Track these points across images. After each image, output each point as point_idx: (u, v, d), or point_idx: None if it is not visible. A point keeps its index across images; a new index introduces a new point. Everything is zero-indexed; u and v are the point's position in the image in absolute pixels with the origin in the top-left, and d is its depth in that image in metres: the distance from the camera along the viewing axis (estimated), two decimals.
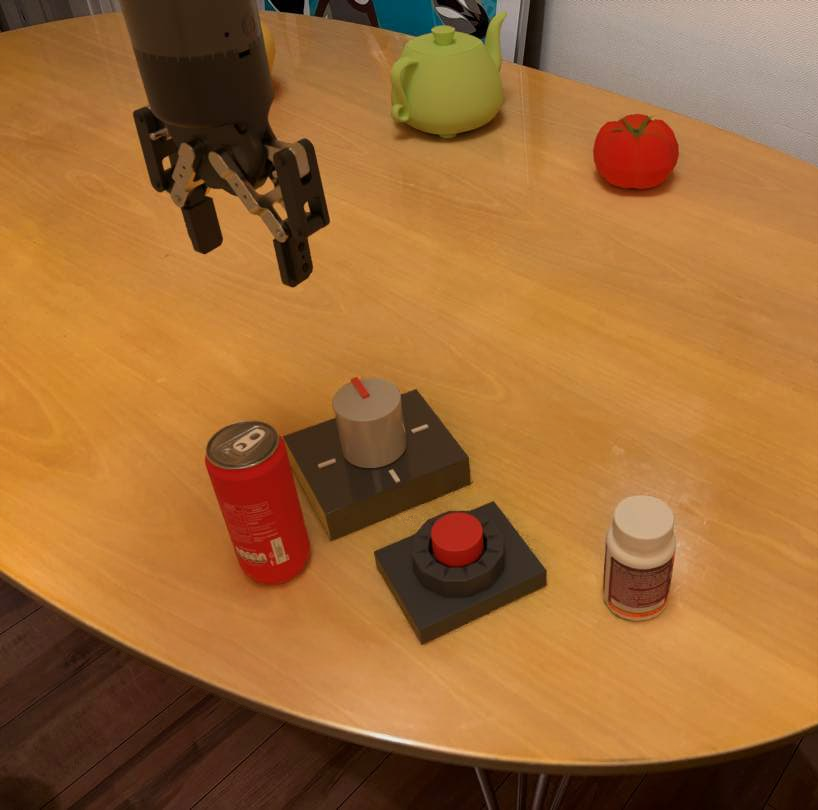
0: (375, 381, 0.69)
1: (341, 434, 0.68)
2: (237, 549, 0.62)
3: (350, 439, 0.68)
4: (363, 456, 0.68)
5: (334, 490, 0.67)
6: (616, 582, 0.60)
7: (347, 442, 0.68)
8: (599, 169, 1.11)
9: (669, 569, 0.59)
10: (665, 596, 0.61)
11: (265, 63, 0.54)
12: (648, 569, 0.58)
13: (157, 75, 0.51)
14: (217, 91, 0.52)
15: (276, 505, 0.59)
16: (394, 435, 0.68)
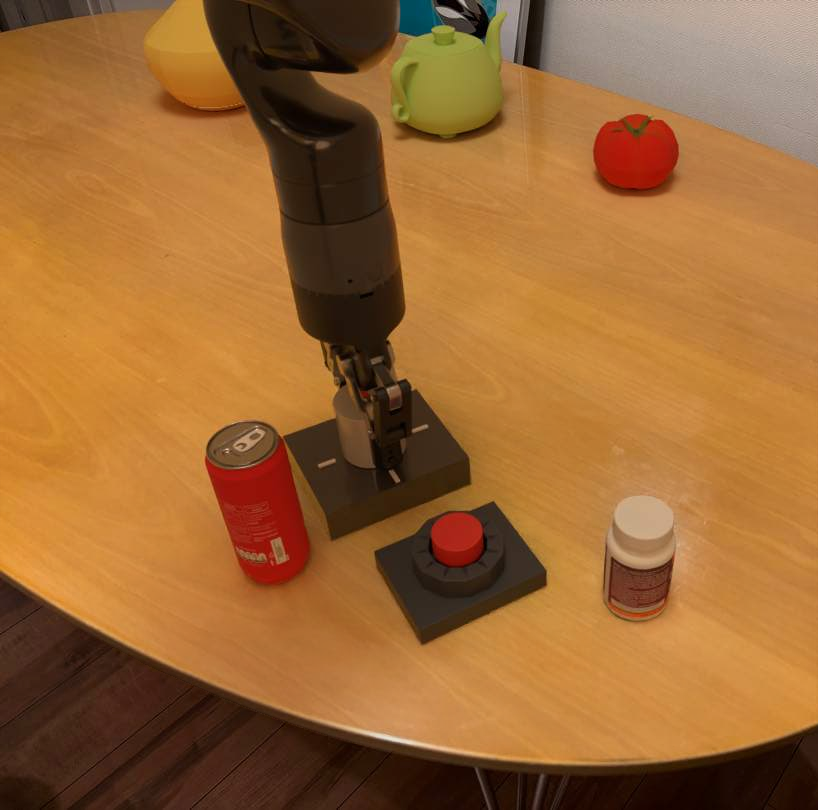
0: None
1: (341, 434, 0.68)
2: (237, 549, 0.62)
3: (350, 439, 0.68)
4: (363, 456, 0.68)
5: (334, 490, 0.67)
6: (616, 582, 0.60)
7: (347, 442, 0.68)
8: (599, 169, 1.11)
9: (669, 569, 0.59)
10: (665, 596, 0.61)
11: (392, 299, 0.60)
12: (648, 569, 0.58)
13: (296, 296, 0.59)
14: (336, 320, 0.59)
15: (276, 505, 0.59)
16: None
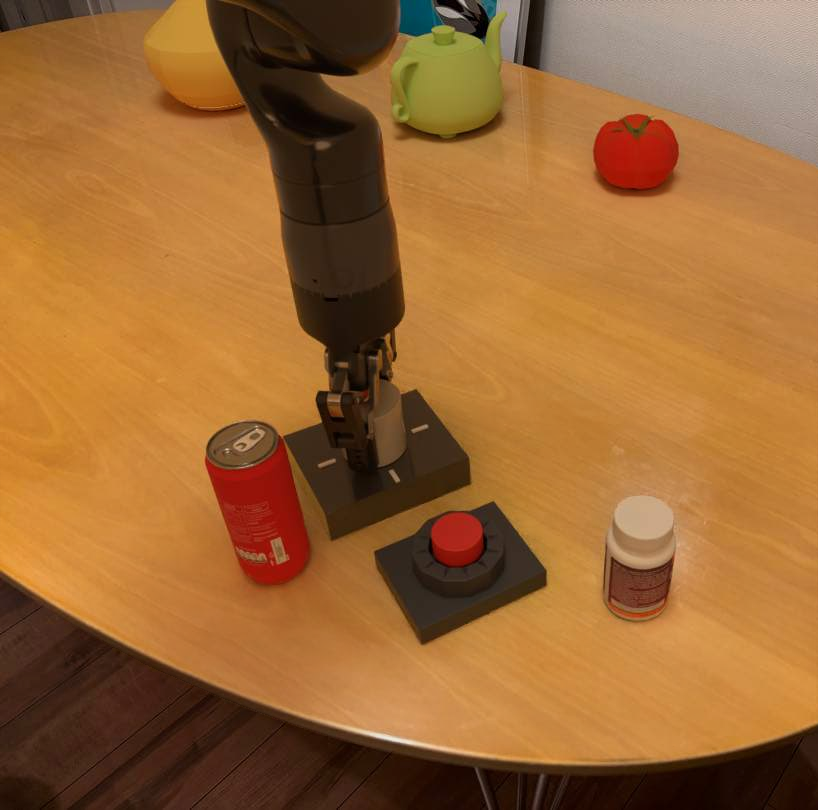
0: (388, 386, 0.69)
1: None
2: (237, 549, 0.62)
3: None
4: (345, 449, 0.69)
5: (334, 490, 0.67)
6: (616, 582, 0.60)
7: None
8: (599, 169, 1.11)
9: (669, 569, 0.59)
10: (665, 596, 0.61)
11: (363, 312, 0.59)
12: (648, 569, 0.58)
13: None
14: (306, 314, 0.59)
15: (276, 505, 0.59)
16: None
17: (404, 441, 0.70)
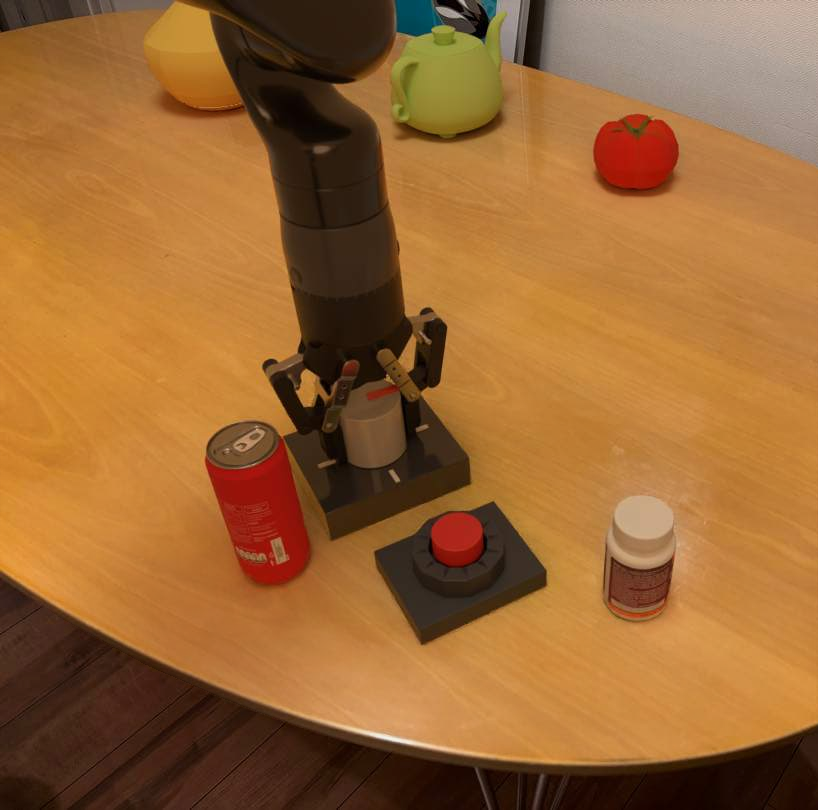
0: (392, 402, 0.68)
1: None
2: (237, 549, 0.62)
3: None
4: None
5: (334, 490, 0.67)
6: (616, 582, 0.60)
7: None
8: (599, 169, 1.11)
9: (669, 569, 0.59)
10: (665, 596, 0.61)
11: (312, 314, 0.59)
12: (648, 569, 0.58)
13: None
14: None
15: (276, 505, 0.59)
16: (344, 439, 0.68)
17: (382, 458, 0.69)
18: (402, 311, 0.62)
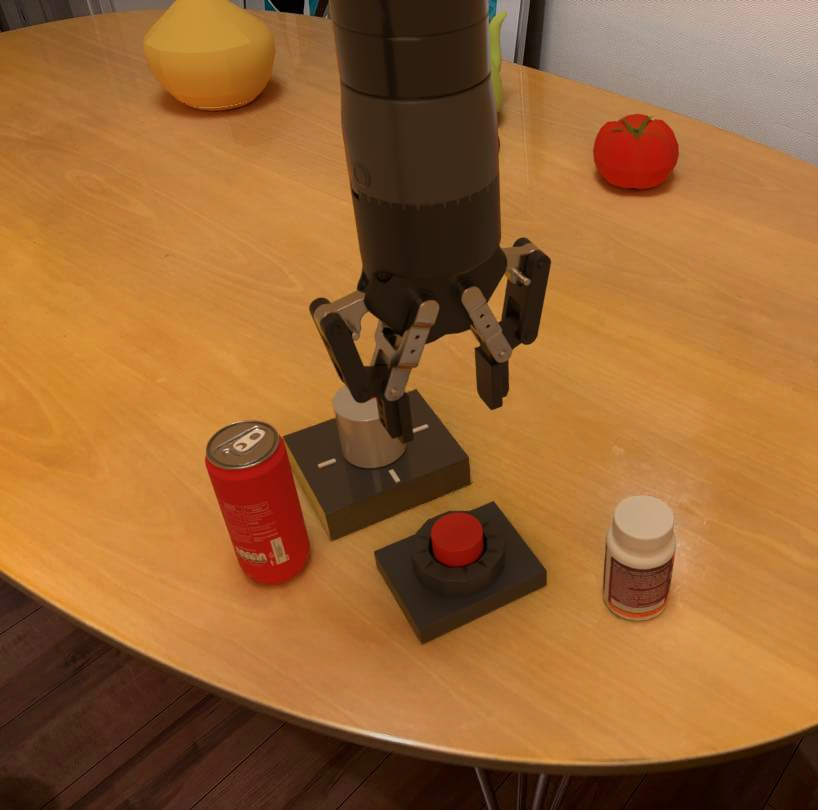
0: None
1: None
2: (237, 549, 0.62)
3: None
4: None
5: (334, 490, 0.67)
6: (616, 582, 0.60)
7: None
8: (599, 169, 1.11)
9: (669, 569, 0.59)
10: (665, 596, 0.61)
11: (383, 230, 0.43)
12: (648, 569, 0.58)
13: None
14: None
15: (276, 505, 0.59)
16: (344, 439, 0.68)
17: (382, 458, 0.69)
18: (499, 234, 0.46)
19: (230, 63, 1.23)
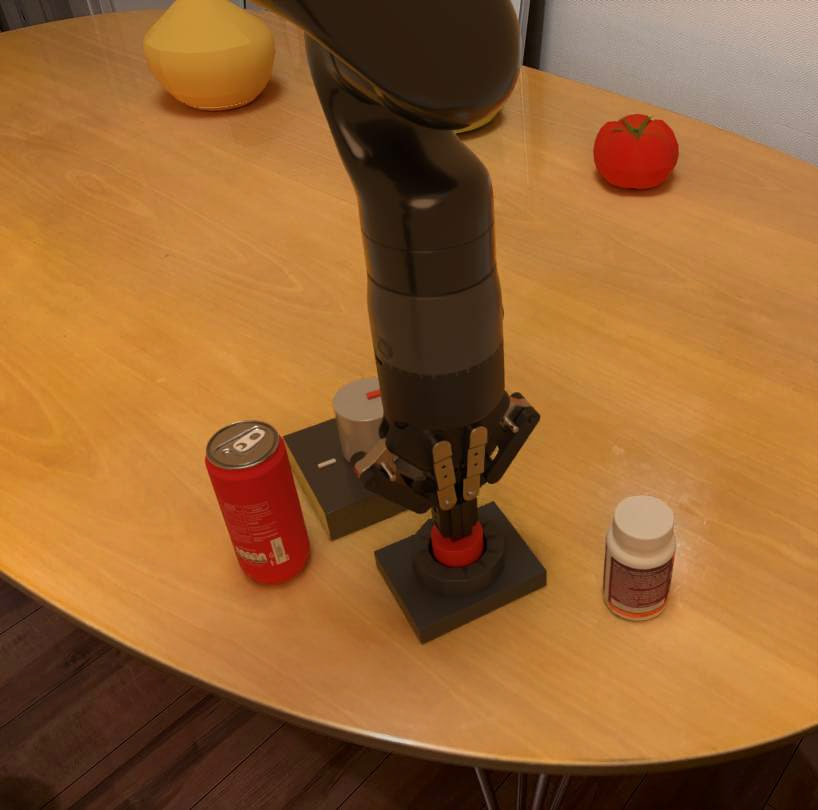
0: None
1: None
2: (237, 549, 0.62)
3: None
4: None
5: (334, 490, 0.67)
6: (616, 582, 0.60)
7: None
8: (599, 169, 1.11)
9: (669, 569, 0.59)
10: (665, 596, 0.61)
11: (402, 392, 0.49)
12: (648, 569, 0.58)
13: None
14: None
15: (276, 505, 0.59)
16: (344, 439, 0.68)
17: None
18: (503, 385, 0.53)
19: (230, 63, 1.23)
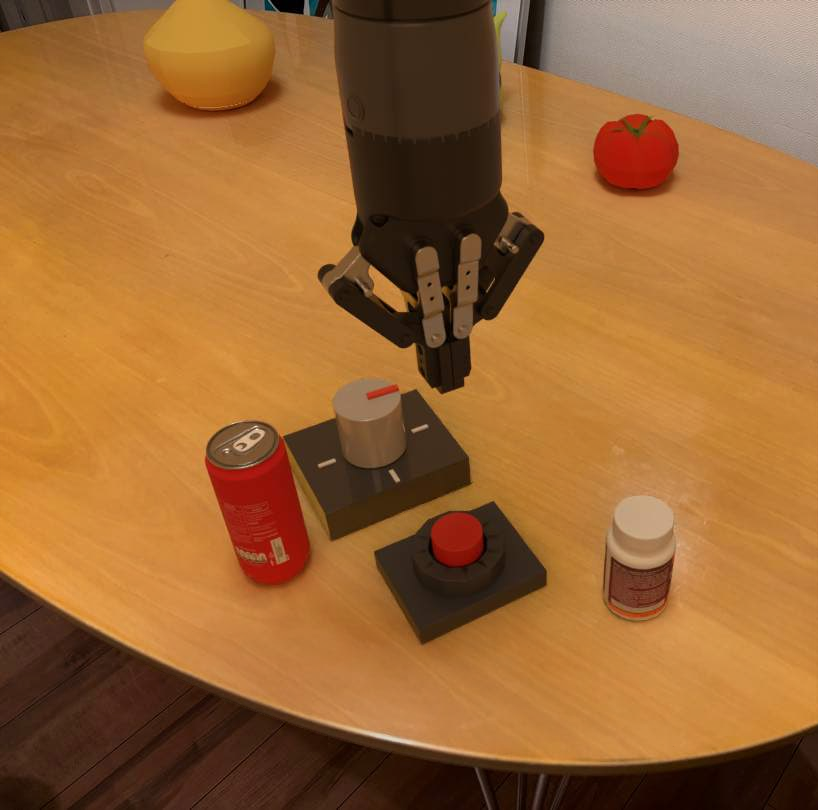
0: (392, 402, 0.68)
1: None
2: (237, 549, 0.62)
3: None
4: None
5: (334, 490, 0.67)
6: (616, 582, 0.60)
7: None
8: (599, 169, 1.11)
9: (669, 569, 0.59)
10: (665, 596, 0.61)
11: (377, 168, 0.41)
12: (648, 569, 0.58)
13: None
14: None
15: (276, 505, 0.59)
16: (344, 439, 0.68)
17: (382, 458, 0.69)
18: (500, 176, 0.44)
19: (230, 63, 1.23)
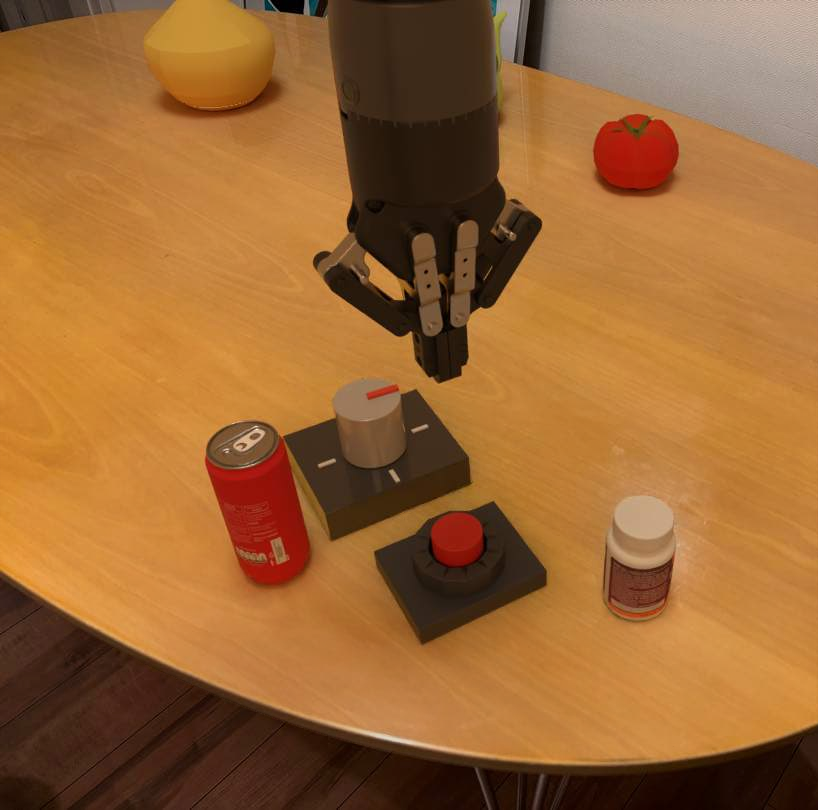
0: (392, 402, 0.68)
1: None
2: (237, 549, 0.62)
3: None
4: None
5: (334, 490, 0.67)
6: (616, 582, 0.60)
7: None
8: (599, 169, 1.11)
9: (669, 569, 0.59)
10: (665, 596, 0.61)
11: (373, 152, 0.40)
12: (648, 569, 0.58)
13: None
14: None
15: (276, 505, 0.59)
16: (344, 439, 0.68)
17: (382, 458, 0.69)
18: (497, 162, 0.43)
19: (230, 63, 1.23)
